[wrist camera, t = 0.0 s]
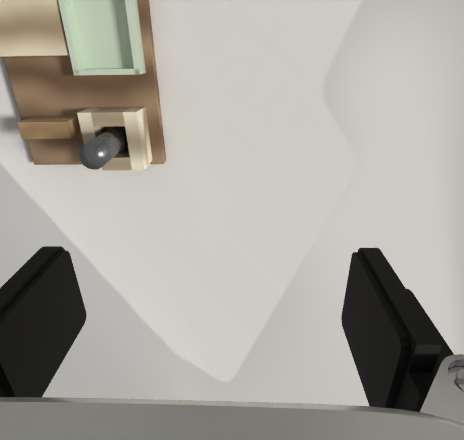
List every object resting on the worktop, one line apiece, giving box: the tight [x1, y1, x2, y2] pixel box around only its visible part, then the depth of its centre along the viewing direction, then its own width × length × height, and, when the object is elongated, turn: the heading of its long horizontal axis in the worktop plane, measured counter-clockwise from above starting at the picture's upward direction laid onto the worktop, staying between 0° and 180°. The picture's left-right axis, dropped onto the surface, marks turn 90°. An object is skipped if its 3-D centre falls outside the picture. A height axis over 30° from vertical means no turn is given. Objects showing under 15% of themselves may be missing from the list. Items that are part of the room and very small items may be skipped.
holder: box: [77, 107, 152, 170], centre depth 43 cm, size 7×7×4 cm
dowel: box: [79, 126, 128, 170], centre depth 40 cm, size 3×3×10 cm
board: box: [3, 0, 166, 165], centre depth 41 cm, size 22×18×6 cm
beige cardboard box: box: [0, 0, 70, 57], centre depth 38 cm, size 7×8×2 cm
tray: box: [58, 0, 146, 75], centre depth 38 cm, size 9×8×2 cm
